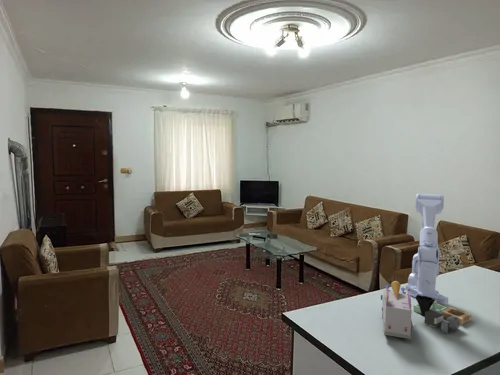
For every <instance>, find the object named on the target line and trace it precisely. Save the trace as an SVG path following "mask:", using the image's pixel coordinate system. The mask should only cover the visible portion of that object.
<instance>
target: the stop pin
mask: <svg viewBox="0 0 500 375" xmlns="http://www.w3.org/2000/svg"><path fill="white" fill-rule="evenodd" d="M435 292H437V293H439V294H440V292H439V291H438V290H436V289H435ZM437 304H438V301H437V300H435V301H434V303H433V304H432V306H431V308H430V309H434V310H436V307H437Z"/></svg>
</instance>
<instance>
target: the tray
mask: <svg viewBox="0 0 500 375" xmlns="http://www.w3.org/2000/svg"><path fill="white" fill-rule="evenodd" d="M412 307H413V309H412V312H413V311H414V312H416V313H419V314H421V310H420V307H419V304H418V302H417V303H415V304H413V306H412ZM447 308H448V307H447V306H446V305H442V304H439V303H437V307H436V310H437V311H439V312H441V311H443V310H445V309H447Z"/></svg>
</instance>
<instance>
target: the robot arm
mask: <svg viewBox="0 0 500 375" xmlns="http://www.w3.org/2000/svg"><path fill="white" fill-rule="evenodd" d="M444 203H445V197H444V195H443V194H442V193H441V194H436V193H435V194H433V193H419V192H417V194H416V195H415V212H417V213H420V214H421V215H420V216H421V217H422V218H421V219H422V222H421V229H420V230H419V246H418V248H417V253H415V254H414V255H413V257H412V262H411V273H410V274H409V275H408V278H407V284H405V287H404V288H405V290H404V291H405V292H406V293H407V296H408V292H409V294H410V297H413V298H415V300H416V301H417V303H418V304H419V307H420V310H421V317H423V318H425V312H426V311H428V310H430V308H431V306H432V304H433V303H434V301H435V300H437V302H440V303H442V304H443V305H447V304H449V297H447V296H445V295H443V294H441V293H440V292H439V293H437V292H435V290H436V286H437V285H436V284H437V283H436V281H437V278H438V277H439V274H440V273H439V272H440V263H439V262H440V261H439V259H440V249H439V244H438V243H439V242H438V239H439V238H438V237H439V234H438V233H439V232H438V231H437V230H436V228H435V224H436V222H435V221H436V216H437V215H440V214H442V212H443V209H444Z"/></svg>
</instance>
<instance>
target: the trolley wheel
mask: <svg viewBox="0 0 500 375" xmlns="http://www.w3.org/2000/svg"><path fill="white" fill-rule="evenodd" d="M460 326H461V325H460V322H459V317H457V316H454V315H451V317H448V318H446V319H444V318H443V320H442V321H441V322H440V326H439V327H440V332H441V333H443V334H446V335H449V333H451V332H453V331H455V330H457V329H459V328H460Z"/></svg>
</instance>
